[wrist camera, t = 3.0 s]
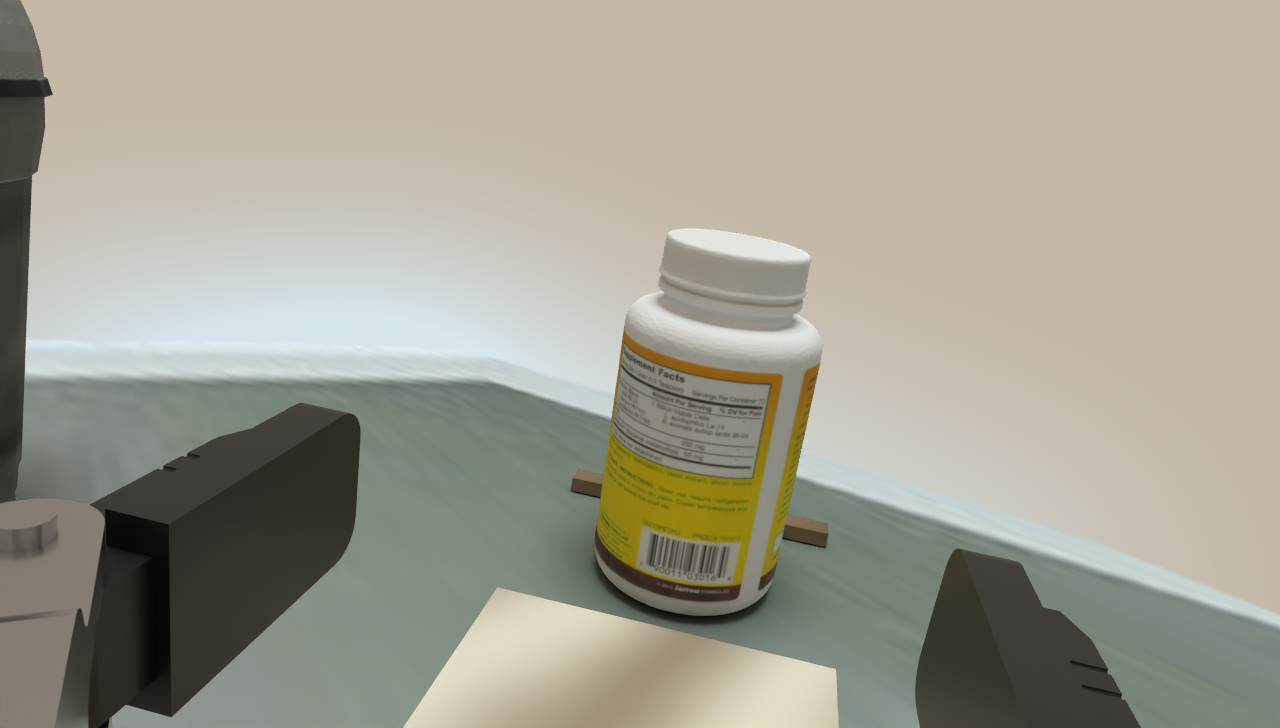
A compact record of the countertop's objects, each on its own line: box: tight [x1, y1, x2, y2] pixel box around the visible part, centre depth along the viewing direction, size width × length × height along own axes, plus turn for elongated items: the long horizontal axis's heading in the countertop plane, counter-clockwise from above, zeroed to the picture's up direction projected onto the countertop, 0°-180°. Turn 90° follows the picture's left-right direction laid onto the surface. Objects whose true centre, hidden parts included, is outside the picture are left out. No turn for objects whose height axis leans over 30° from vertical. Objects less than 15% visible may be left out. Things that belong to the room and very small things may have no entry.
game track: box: [403, 469, 839, 728], centre depth 20 cm, size 9×22×1 cm, turn 169°
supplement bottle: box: [595, 229, 822, 616], centre depth 25 cm, size 6×6×10 cm
